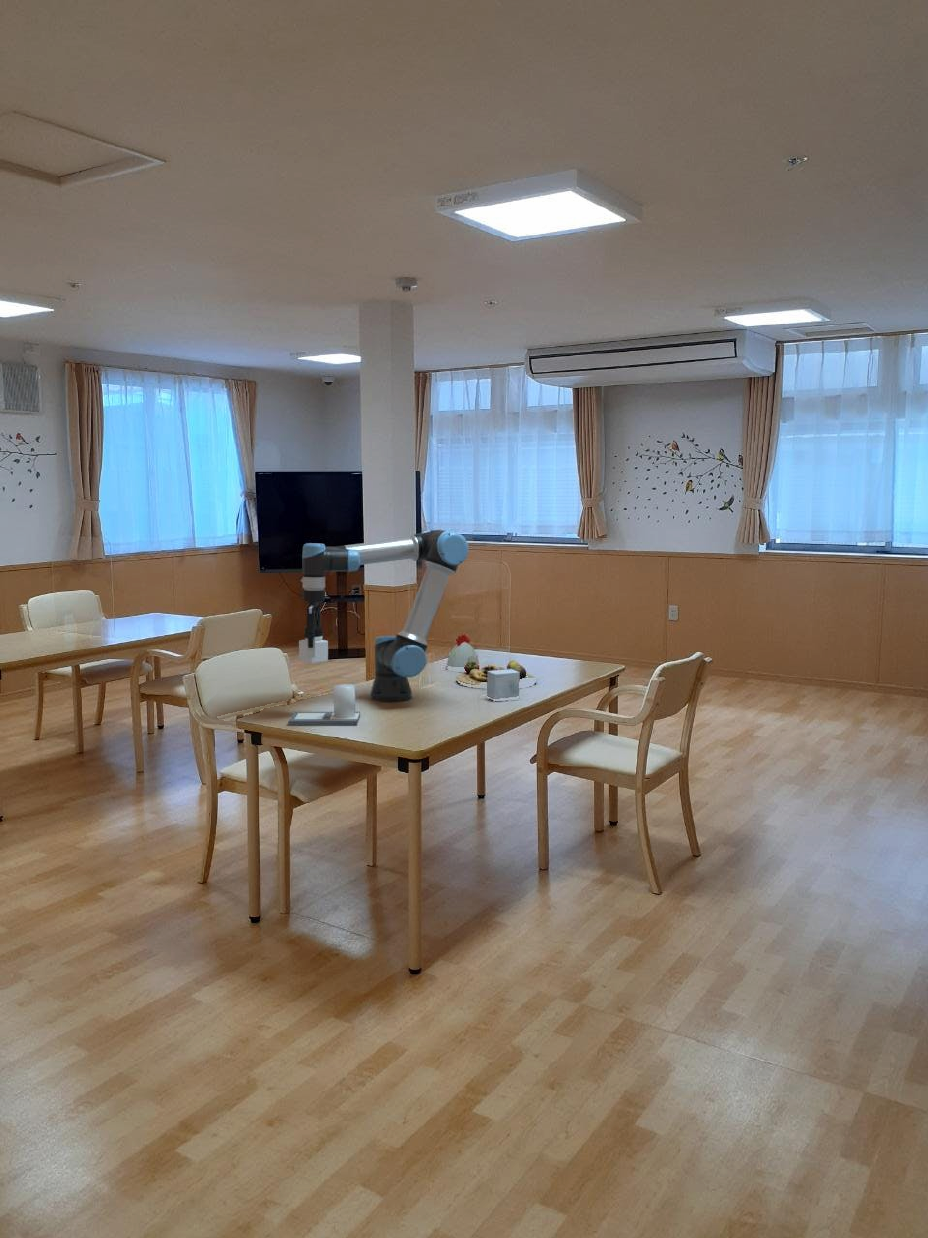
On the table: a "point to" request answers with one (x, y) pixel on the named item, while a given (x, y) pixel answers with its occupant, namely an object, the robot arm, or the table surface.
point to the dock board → (322, 719)
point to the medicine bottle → (320, 648)
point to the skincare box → (503, 683)
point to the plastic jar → (344, 701)
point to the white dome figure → (462, 653)
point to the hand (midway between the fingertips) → (313, 654)
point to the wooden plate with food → (481, 676)
